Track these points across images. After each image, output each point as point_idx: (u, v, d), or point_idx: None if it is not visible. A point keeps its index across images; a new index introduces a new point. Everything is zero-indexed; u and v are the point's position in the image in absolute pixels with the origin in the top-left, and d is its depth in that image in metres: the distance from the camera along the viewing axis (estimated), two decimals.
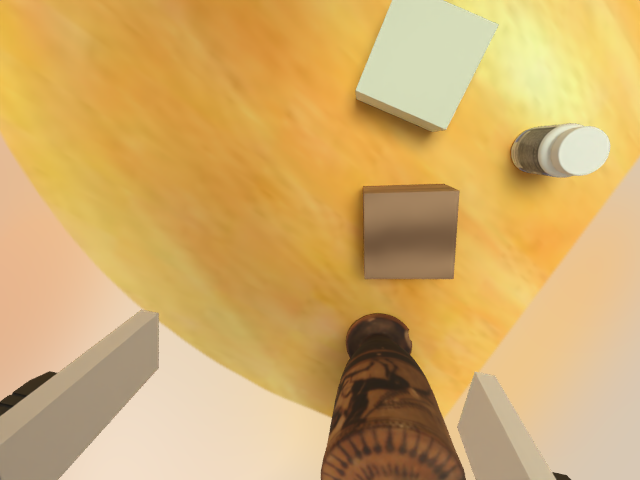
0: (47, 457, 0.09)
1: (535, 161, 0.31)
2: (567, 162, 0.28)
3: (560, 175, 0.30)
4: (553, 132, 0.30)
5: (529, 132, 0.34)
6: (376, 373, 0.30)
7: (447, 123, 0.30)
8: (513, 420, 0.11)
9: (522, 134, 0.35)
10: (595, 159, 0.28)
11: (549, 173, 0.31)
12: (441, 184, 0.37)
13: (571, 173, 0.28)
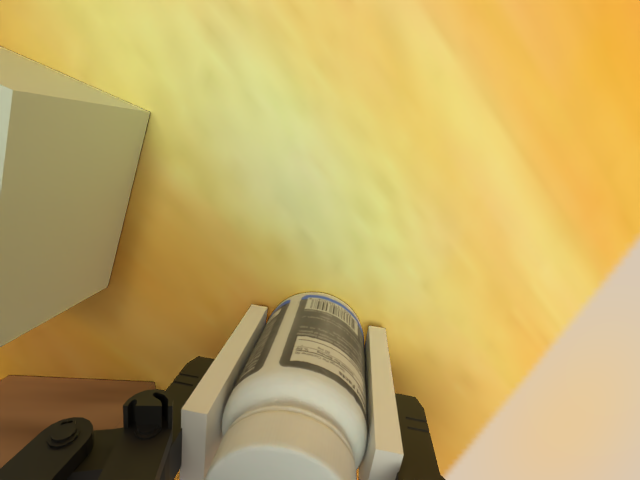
0: (220, 426, 0.11)
1: None
2: None
3: None
4: (240, 395, 0.10)
5: (272, 320, 0.14)
6: None
7: None
8: (382, 357, 0.13)
9: (275, 310, 0.15)
10: None
11: None
12: (142, 387, 0.18)
13: None
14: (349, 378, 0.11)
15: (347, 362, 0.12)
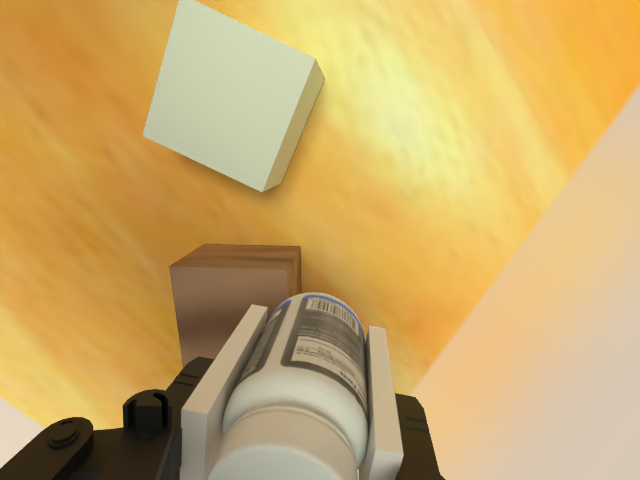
0: (220, 426, 0.11)
1: None
2: None
3: None
4: (241, 395, 0.10)
5: (273, 319, 0.14)
6: None
7: (262, 184, 0.23)
8: (382, 357, 0.13)
9: (276, 310, 0.15)
10: None
11: None
12: (295, 247, 0.30)
13: None
14: (350, 378, 0.11)
15: (347, 362, 0.12)
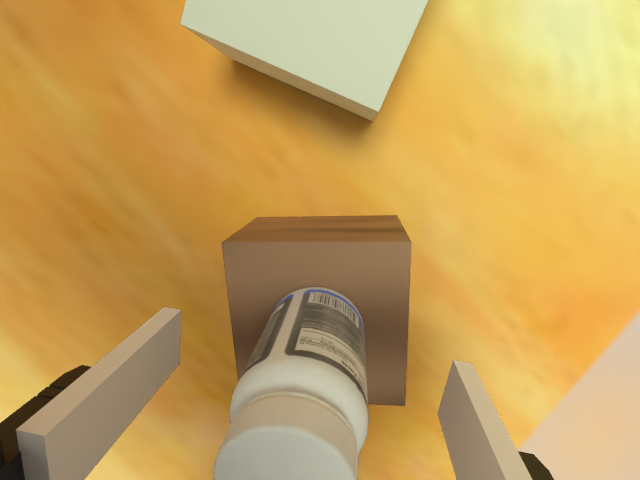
0: (85, 446, 0.10)
1: None
2: None
3: None
4: (247, 383, 0.11)
5: (276, 313, 0.15)
6: None
7: (381, 98, 0.14)
8: (485, 404, 0.11)
9: (278, 304, 0.16)
10: None
11: None
12: (391, 217, 0.21)
13: None
14: (351, 367, 0.11)
15: (348, 352, 0.12)
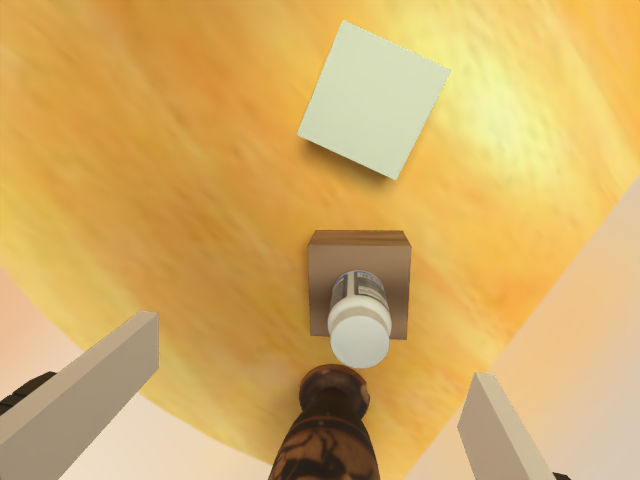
0: (47, 457, 0.09)
1: None
2: (342, 353, 0.23)
3: None
4: (338, 306, 0.24)
5: (341, 282, 0.28)
6: (311, 451, 0.27)
7: (397, 174, 0.28)
8: (513, 420, 0.11)
9: (339, 279, 0.29)
10: (373, 353, 0.23)
11: None
12: (399, 231, 0.34)
13: (349, 365, 0.23)
14: (383, 302, 0.25)
15: (381, 297, 0.26)
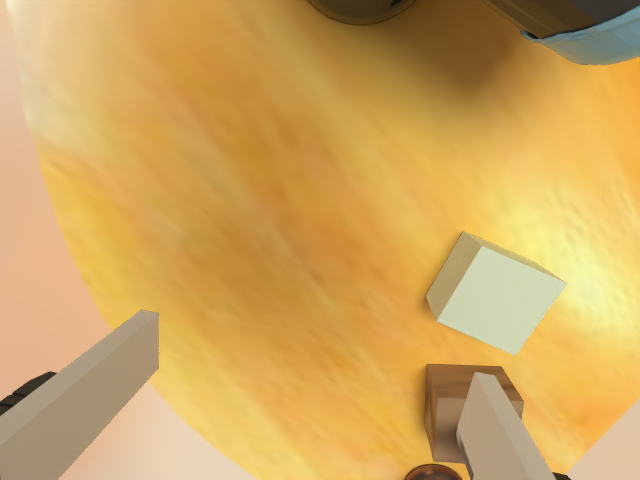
0: (47, 457, 0.09)
1: None
2: None
3: None
4: None
5: None
6: None
7: (516, 351, 0.35)
8: (513, 420, 0.11)
9: None
10: None
11: None
12: (499, 369, 0.42)
13: None
14: None
15: None
